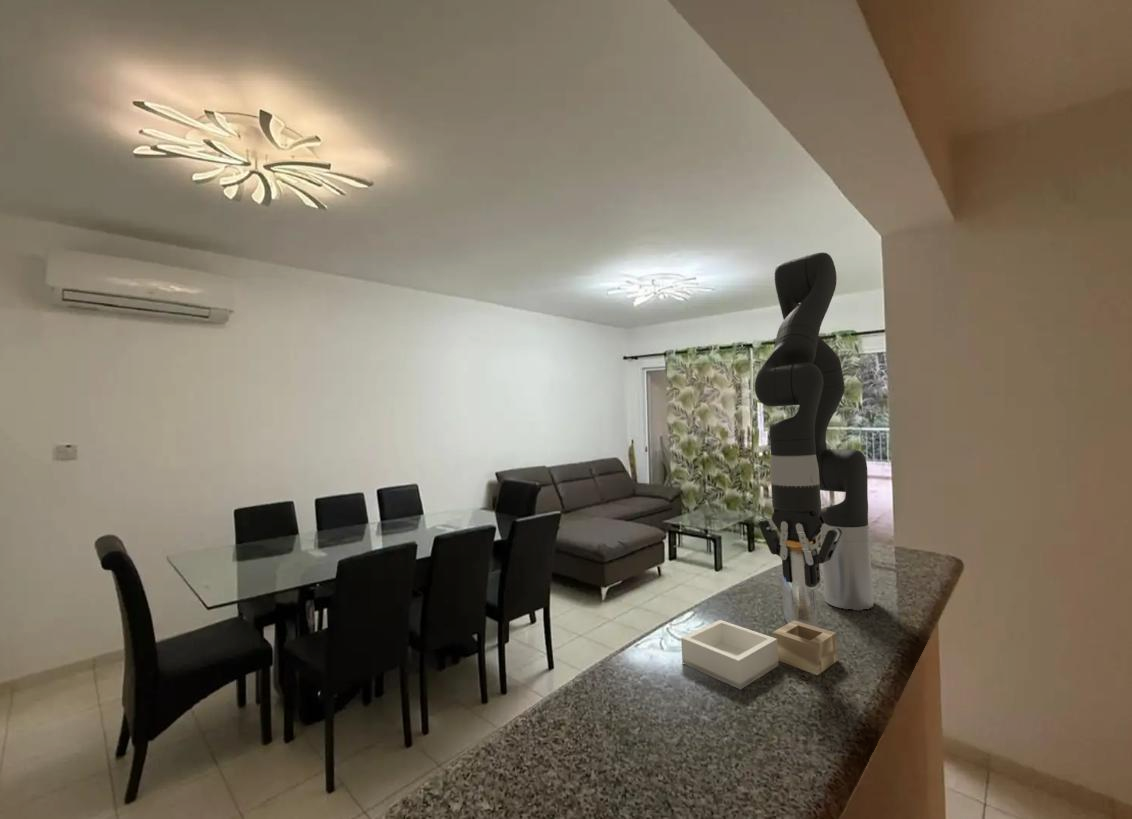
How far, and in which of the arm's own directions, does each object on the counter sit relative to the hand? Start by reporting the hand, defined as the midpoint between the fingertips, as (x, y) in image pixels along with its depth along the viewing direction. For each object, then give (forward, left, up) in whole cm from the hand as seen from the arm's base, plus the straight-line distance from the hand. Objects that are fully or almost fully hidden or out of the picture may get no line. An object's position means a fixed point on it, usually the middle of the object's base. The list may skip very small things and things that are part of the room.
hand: (801, 583), depth 82 cm
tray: (+11, -7, -13) cm, 18 cm away
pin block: (0, 0, -13) cm, 13 cm away
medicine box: (-12, -7, -13) cm, 19 cm away
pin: (0, 0, -6) cm, 6 cm away
